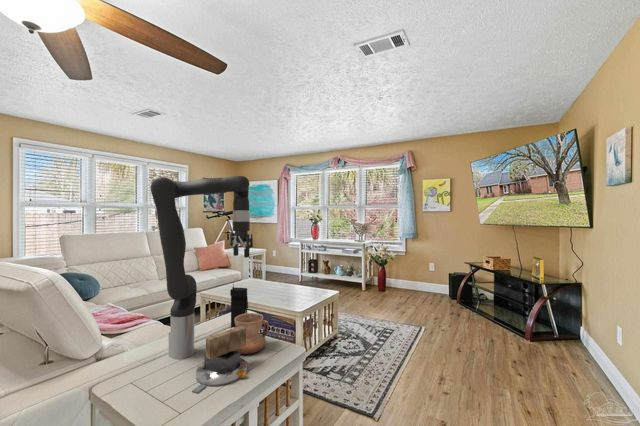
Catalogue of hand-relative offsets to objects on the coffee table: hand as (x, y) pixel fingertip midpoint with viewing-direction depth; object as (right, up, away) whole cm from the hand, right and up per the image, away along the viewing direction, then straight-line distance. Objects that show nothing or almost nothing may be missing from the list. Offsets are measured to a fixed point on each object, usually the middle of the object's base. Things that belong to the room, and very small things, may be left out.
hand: (241, 256), depth 135 cm
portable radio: (-4, -40, +12) cm, 42 cm away
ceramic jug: (+5, -40, -4) cm, 41 cm away
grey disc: (-1, -40, -24) cm, 46 cm away
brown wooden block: (+5, -29, -16) cm, 34 cm away
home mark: (-5, -40, -34) cm, 53 cm away
